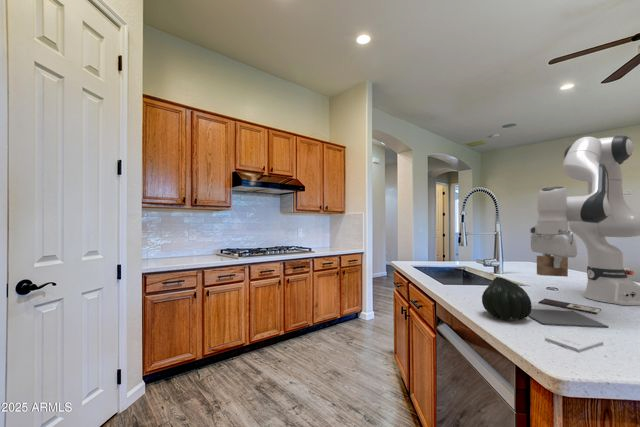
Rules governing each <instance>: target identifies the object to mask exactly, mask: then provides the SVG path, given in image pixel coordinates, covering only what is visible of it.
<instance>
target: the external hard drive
mask: <svg viewBox="0 0 640 427" xmlns="http://www.w3.org/2000/svg"><path fill="white" fill-rule="evenodd" d="M544 341H545V342H547V343H551V344H553V345H557V346H559V347H562V348H565V349H567V350H570V351H573V352H576V353H581V352H585V351H587V350H591V349H593V348H594V347H595V348H597V347H601V346H604V341H603V340H600V339H597V338H594V337H590V336H587V335H583V334H581V333H577V332H575V331H565V332H562V333H559V334H555V335H553V336H551V335H550V336H548V337H545V338H544ZM595 348H594V349H595Z"/></svg>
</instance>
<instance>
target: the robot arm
mask: <svg viewBox="0 0 640 427" xmlns="http://www.w3.org/2000/svg"><path fill="white" fill-rule="evenodd" d="M633 150H634V143H633V142H632V139H631V138H630V137H629V136H627V135H615V136H609V137H607V136H606V137H600V138H597V137H594V136H582V137H581V138H578V139H577V140H575V141H574V142H573V143H572V144H571V145H569V146H568V147H567V148H566V149H565V150H564V154H563V155H564V156H563V158H564V160H563V162H562V163H563V164H562V170H563V173H564V174H565V175H566V176H567V177H569V178H571V180H572V179H573V180H576V181H579V182H581V181H582V182H587V195H577V196H568V195H567V190H566V187H564V186H550V187H549V186H548V187H544V188H541V189H540V190H539V192H538V196H537V197H538V198H537V210H536V211H537V214H538V217H537V221H536V222H537V224H536V225H534V226H531V227H530V228H529V233H530V234H531V235H530V249H531V251H532V253H539V254H542V256H553V258H555V259H554V262H553V263H552V267H553V268H560V262H561V261H562V257H568V258H574V259H575V258H576V257H577V255H578V248H577V242H576V238H575V236H574V234H575V235H576V236H577V237H578V238H579V239H581V241H582V242H583V244H584V245H585V247H586V251H587V260H588V262H587V264H588V265H587V267H586V276H587V283H586V288H585V291H584V295H583V297H584V298H586V299H590V300H593V301H598V302H603V303H609V304H615V305H618V306H619V305H620V306H640V284H638V283H636V282H634V281H633V280H631V279H630V278H629V276H633V275H635V271H634V270H629V269H628V270H625V269H624V261H623V260H624V254H623V252H622V250H621V249H620V247H617V246H615V245H612V244H610V243H609V242H608V241H607V238H606V237H608V238H633V237H634V238H635V237H640V213H638V212H636V211H635V210H633V209H632V208H631V207H630V206H629V205H628V204H627V202H626V201H625V199H624V193H623V192H624V191H623V174H622V167H621V165H622V164H623V163H624V162H625V161H626V160H628V159H629V158H630V157H631V156H632V154H633ZM568 227H569V229H568Z"/></svg>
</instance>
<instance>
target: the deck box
mask: <svg viewBox="0 0 640 427" xmlns="http://www.w3.org/2000/svg"><path fill="white" fill-rule="evenodd" d="M568 258H569V257H562V261H561V262H560V268H553V267H552V263H553V262H554V259H555V258H553V255H551V256H543V255H536V275H538V276H546V277H547V276H548V277H565V278H566V277H569V276H568V274H569V272H568V271H569V270H568V269H569V265H568V264H569V262H568V261H569V259H568Z"/></svg>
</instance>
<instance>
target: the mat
mask: <svg viewBox="0 0 640 427" xmlns="http://www.w3.org/2000/svg"><path fill="white" fill-rule="evenodd" d="M527 318H530V319H532V320H533V321H535V322H537V323H538V324H540V325H542V326H557V327H558V326H560V327H581V328H597V329H599V328H601V329H602V328H603V329H609V325H607V324H605V323H602V322H600V321H597V320H596V319H593V318H590V317H588V316H585V315H584V314H581V313H579V312H578V311H575V310H567V309H565V310H563V309H561V310H560V309H559V310H558V309H543V308H542V309H536V308H531V313H530V314H529V316H528V317H527Z"/></svg>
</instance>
